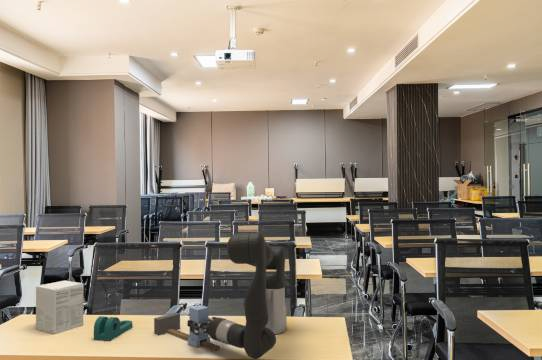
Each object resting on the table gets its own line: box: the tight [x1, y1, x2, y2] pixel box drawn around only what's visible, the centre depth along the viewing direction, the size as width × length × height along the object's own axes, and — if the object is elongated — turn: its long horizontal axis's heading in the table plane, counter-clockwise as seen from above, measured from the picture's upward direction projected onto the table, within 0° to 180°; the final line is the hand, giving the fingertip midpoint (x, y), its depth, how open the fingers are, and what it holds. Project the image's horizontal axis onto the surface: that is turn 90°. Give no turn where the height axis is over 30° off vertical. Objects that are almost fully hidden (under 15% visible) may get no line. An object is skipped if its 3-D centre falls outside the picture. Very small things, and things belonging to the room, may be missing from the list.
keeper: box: [187, 304, 211, 348], centre depth 151 cm, size 6×5×13 cm
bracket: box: [93, 315, 133, 342], centre depth 163 cm, size 18×7×8 cm, turn 168°
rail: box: [166, 328, 221, 352], centre depth 153 cm, size 2×29×1 cm, turn 48°
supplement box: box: [35, 279, 84, 335], centre depth 171 cm, size 13×13×18 cm
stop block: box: [153, 312, 181, 336], centre depth 164 cm, size 10×3×6 cm, turn 138°
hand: (194, 321), depth 152 cm, fingers closed on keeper, 4 cm apart
